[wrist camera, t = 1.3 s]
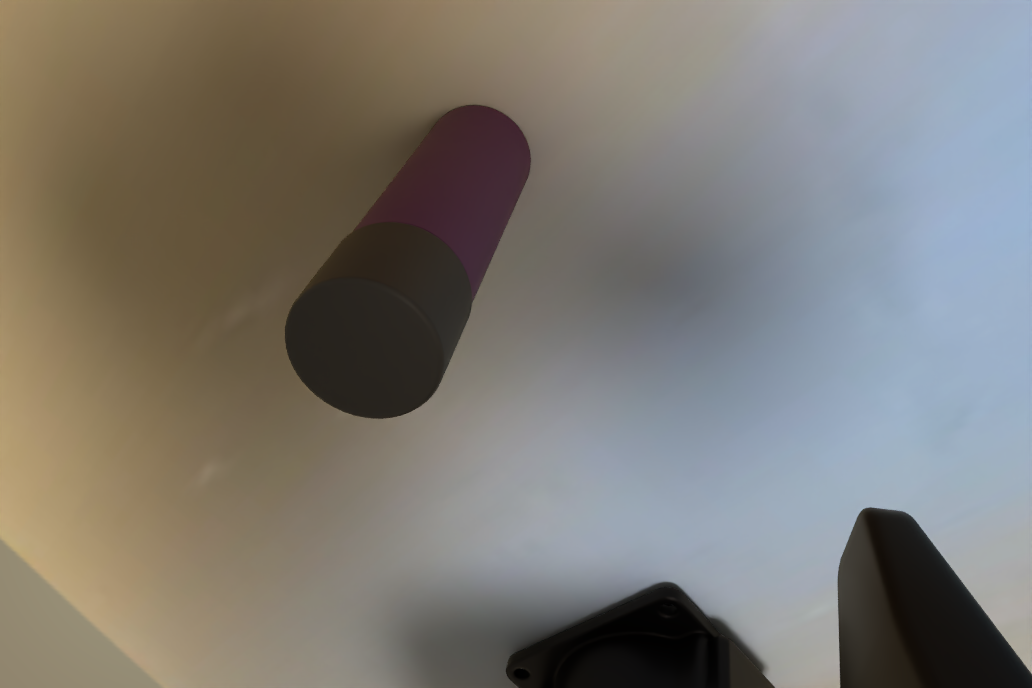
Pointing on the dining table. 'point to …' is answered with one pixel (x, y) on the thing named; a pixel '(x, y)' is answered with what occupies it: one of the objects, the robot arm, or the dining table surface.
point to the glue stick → (410, 270)
